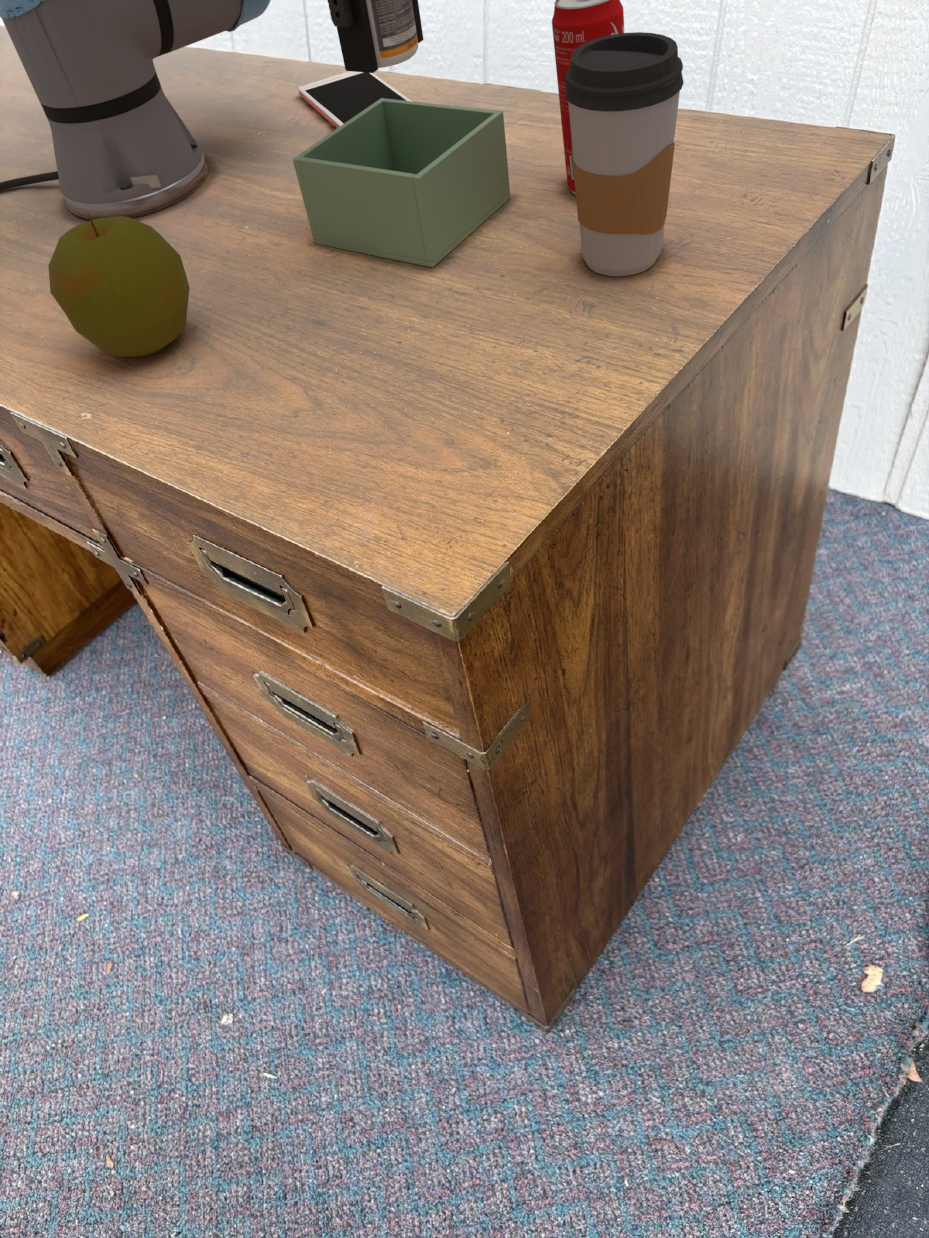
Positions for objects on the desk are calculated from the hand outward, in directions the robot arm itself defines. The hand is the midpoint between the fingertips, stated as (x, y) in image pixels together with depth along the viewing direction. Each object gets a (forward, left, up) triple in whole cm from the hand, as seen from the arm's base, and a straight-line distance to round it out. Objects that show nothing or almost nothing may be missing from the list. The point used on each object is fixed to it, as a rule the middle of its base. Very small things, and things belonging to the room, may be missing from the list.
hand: (385, 54), depth 71 cm
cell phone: (-22, +21, -14) cm, 33 cm away
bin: (0, 0, -14) cm, 14 cm away
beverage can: (+13, +11, -14) cm, 22 cm away
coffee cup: (+21, 0, -14) cm, 25 cm away
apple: (-10, -25, -14) cm, 30 cm away
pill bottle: (0, 0, 0) cm, 0 cm away
